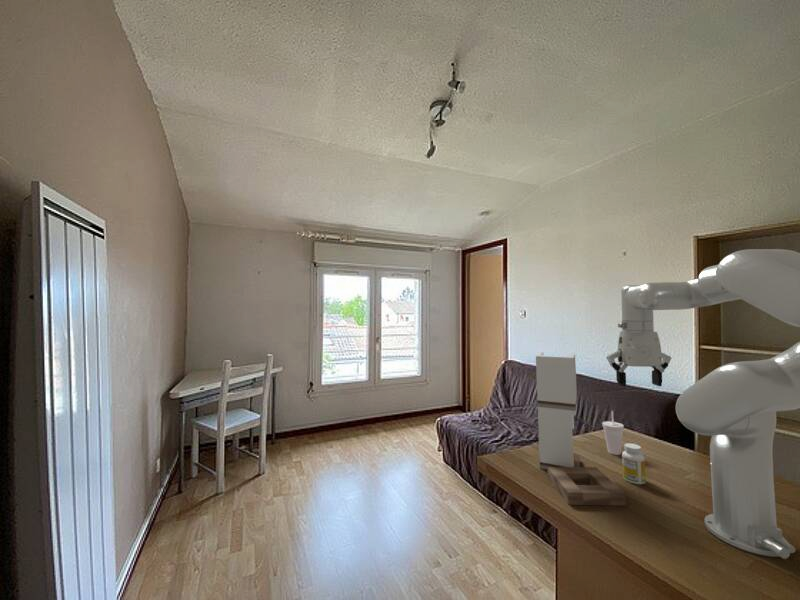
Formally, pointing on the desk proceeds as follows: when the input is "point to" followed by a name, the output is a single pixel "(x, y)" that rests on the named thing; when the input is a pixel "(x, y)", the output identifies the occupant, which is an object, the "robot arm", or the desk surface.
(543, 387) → the tall seamed white column
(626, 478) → the supplement bottle
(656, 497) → the desk surface
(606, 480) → the socket block
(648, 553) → the desk surface
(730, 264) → the robot arm
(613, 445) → the smoothie
